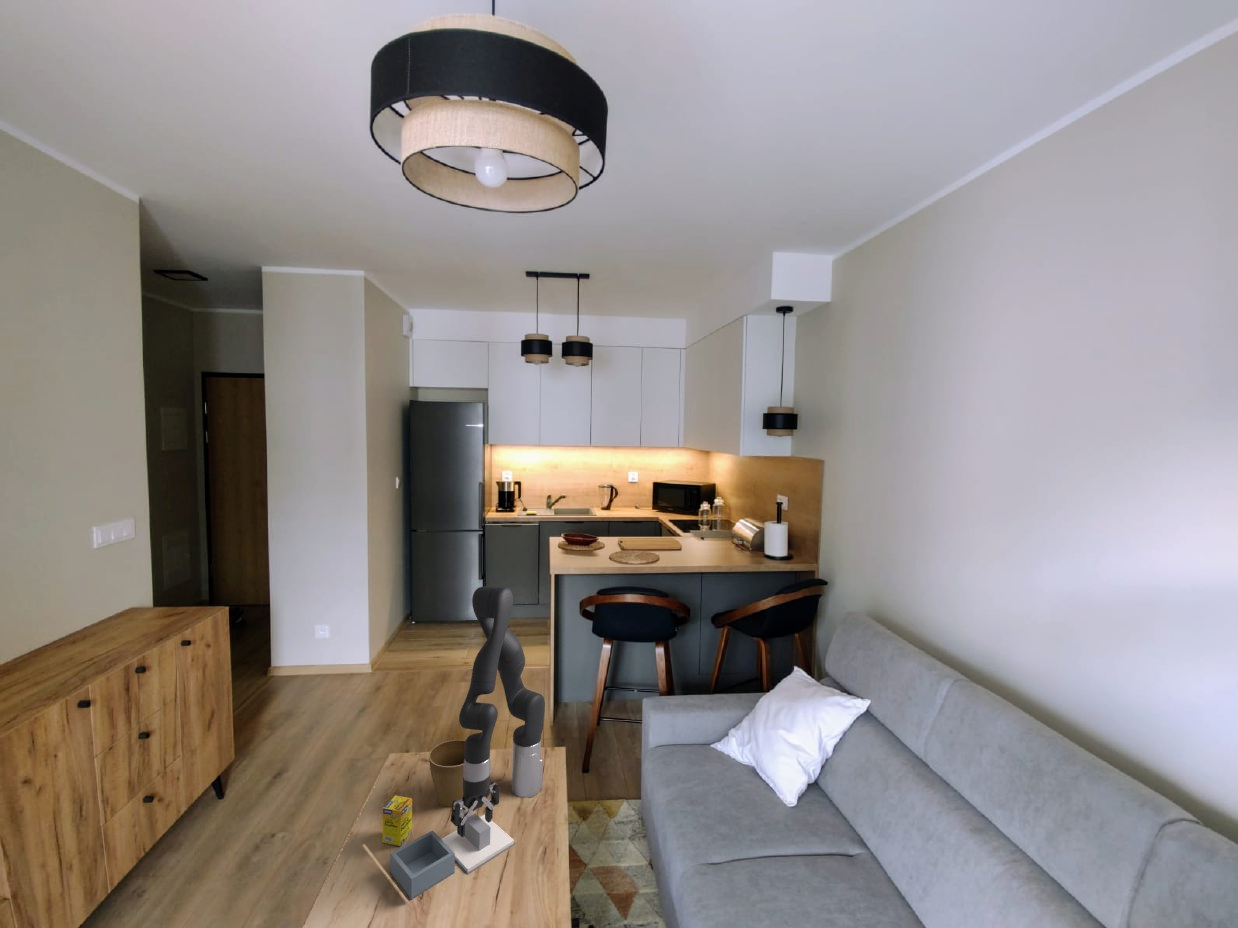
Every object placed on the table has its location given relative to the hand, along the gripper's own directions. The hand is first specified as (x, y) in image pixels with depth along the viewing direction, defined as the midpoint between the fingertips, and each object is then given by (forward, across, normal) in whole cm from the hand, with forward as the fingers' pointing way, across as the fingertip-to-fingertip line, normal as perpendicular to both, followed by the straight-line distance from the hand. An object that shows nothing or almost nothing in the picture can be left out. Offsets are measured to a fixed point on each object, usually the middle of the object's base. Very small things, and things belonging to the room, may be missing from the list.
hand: (475, 827), depth 156 cm
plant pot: (+5, -5, -22) cm, 23 cm away
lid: (+5, -1, 0) cm, 5 cm away
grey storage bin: (+6, +15, 0) cm, 16 cm away
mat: (+5, -1, 0) cm, 5 cm away
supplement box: (+6, +15, -18) cm, 23 cm away
